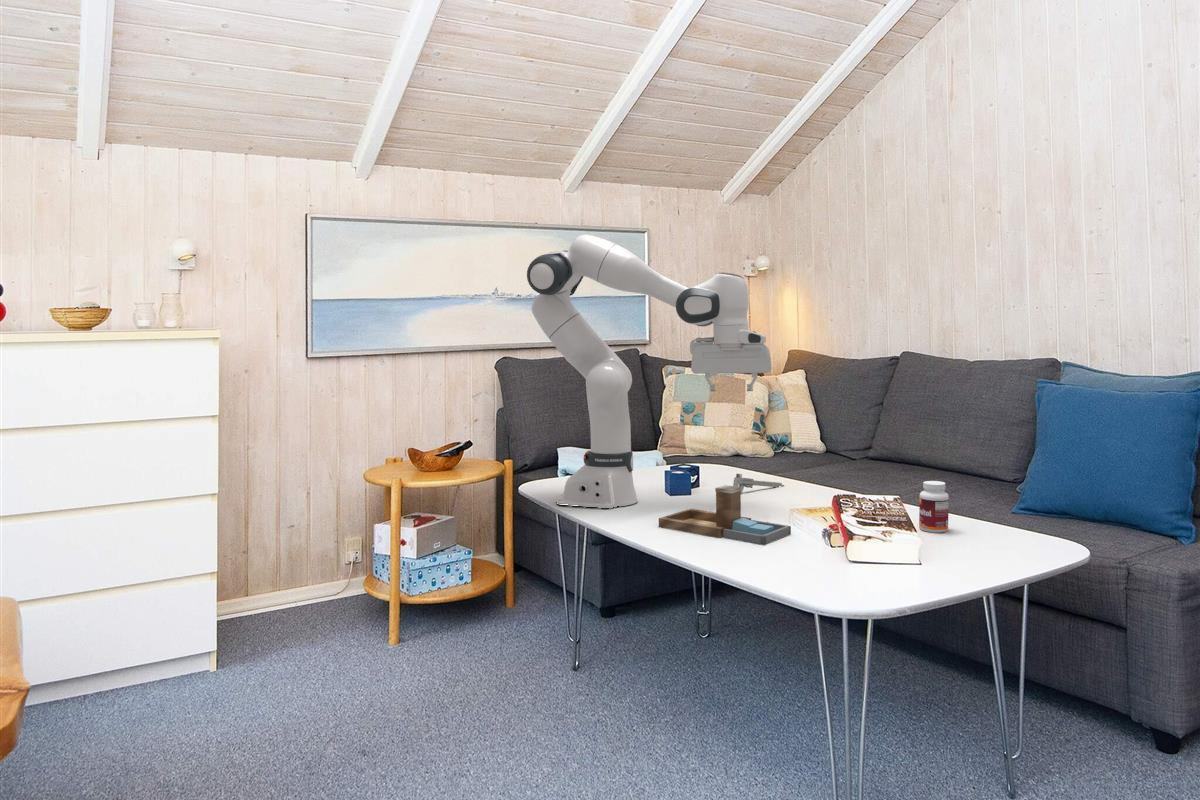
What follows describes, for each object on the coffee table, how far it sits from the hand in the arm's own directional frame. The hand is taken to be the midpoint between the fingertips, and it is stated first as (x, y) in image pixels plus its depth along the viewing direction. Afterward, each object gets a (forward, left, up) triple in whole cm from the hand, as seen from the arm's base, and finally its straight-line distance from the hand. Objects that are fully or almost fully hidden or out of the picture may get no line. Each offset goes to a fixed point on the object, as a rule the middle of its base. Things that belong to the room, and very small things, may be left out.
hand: (731, 391), depth 203 cm
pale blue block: (+3, -28, -30) cm, 41 cm away
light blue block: (+7, -30, -31) cm, 44 cm away
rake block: (0, -26, -30) cm, 39 cm away
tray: (+6, -29, -31) cm, 43 cm away
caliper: (+7, +28, -32) cm, 43 cm away
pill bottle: (+46, -15, -31) cm, 58 cm away
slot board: (-6, -22, -31) cm, 39 cm away
